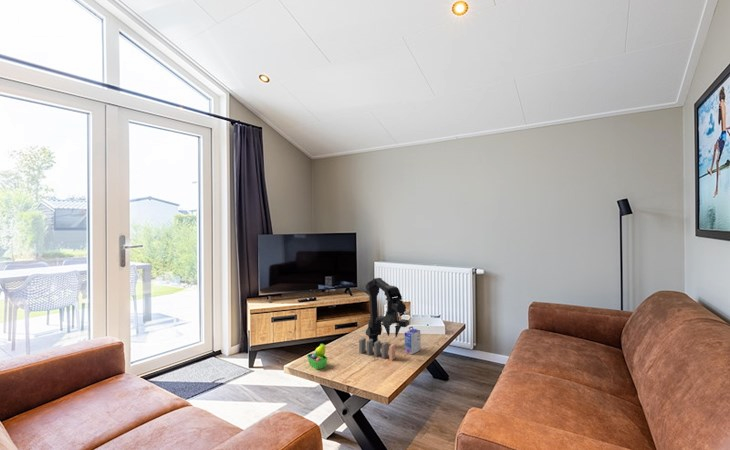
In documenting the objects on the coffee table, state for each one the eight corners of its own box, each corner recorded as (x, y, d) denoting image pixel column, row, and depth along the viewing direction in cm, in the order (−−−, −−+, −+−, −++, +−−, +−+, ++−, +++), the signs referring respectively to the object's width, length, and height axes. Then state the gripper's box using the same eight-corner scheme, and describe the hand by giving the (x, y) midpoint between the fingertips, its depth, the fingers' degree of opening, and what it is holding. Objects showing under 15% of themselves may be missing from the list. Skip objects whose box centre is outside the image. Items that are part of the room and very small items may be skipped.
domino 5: (392, 357, 197) (392, 343, 197) (395, 357, 196) (395, 343, 196) (389, 360, 193) (389, 346, 192) (391, 360, 192) (391, 346, 192)
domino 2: (370, 351, 205) (370, 338, 204) (372, 352, 204) (372, 339, 204) (366, 354, 200) (366, 341, 200) (368, 355, 199) (368, 341, 199)
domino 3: (377, 353, 202) (377, 340, 202) (380, 354, 201) (380, 340, 201) (374, 356, 198) (373, 342, 198) (376, 357, 197) (376, 343, 197)
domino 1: (363, 350, 207) (363, 337, 207) (365, 350, 206) (365, 337, 206) (359, 353, 203) (359, 340, 203) (361, 353, 202) (361, 340, 202)
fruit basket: (306, 364, 188) (306, 343, 188) (320, 360, 193) (320, 340, 193) (315, 371, 179) (315, 350, 179) (330, 367, 184) (330, 346, 184)
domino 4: (385, 355, 200) (385, 341, 199) (387, 355, 199) (387, 342, 199) (381, 358, 195) (381, 344, 195) (384, 358, 194) (384, 344, 194)
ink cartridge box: (413, 347, 211) (413, 324, 211) (421, 350, 207) (421, 326, 207) (404, 352, 204) (404, 328, 204) (411, 354, 200) (411, 330, 200)
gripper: (371, 310, 192) (371, 337, 192) (401, 314, 183) (401, 343, 183) (380, 305, 201) (380, 332, 202) (409, 309, 192) (409, 337, 192)
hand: (392, 336), depth 194 cm, fingers open, 4 cm apart
